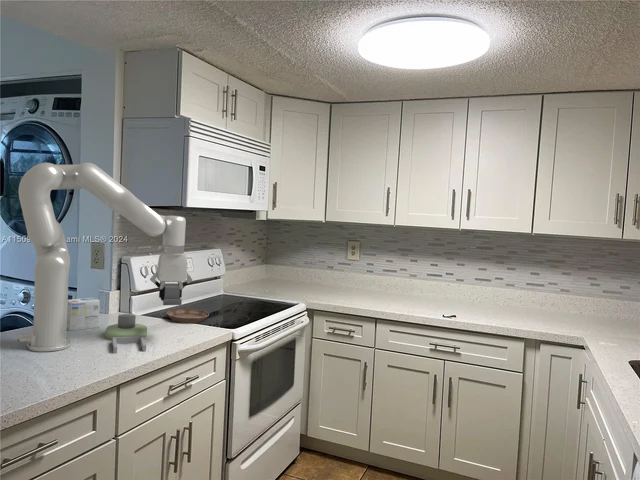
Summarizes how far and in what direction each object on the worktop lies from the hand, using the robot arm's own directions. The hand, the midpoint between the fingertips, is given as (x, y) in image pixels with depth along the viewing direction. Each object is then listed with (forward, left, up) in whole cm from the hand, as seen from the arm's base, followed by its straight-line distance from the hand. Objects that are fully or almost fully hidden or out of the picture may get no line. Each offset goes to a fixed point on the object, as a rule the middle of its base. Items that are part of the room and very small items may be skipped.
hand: (170, 299), depth 169 cm
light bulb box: (-29, +23, -16) cm, 40 cm away
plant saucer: (+12, +30, -16) cm, 36 cm away
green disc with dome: (-14, +2, -15) cm, 21 cm away
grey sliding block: (0, 0, -1) cm, 1 cm away
